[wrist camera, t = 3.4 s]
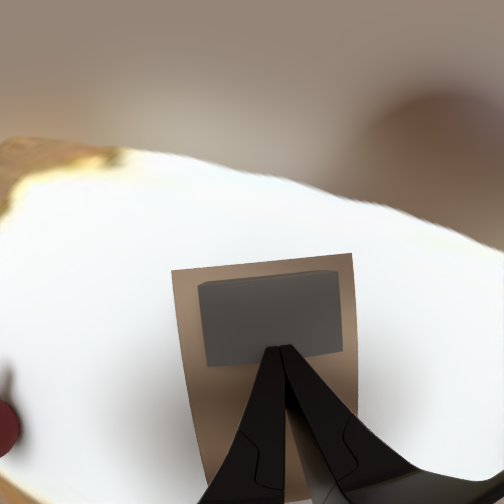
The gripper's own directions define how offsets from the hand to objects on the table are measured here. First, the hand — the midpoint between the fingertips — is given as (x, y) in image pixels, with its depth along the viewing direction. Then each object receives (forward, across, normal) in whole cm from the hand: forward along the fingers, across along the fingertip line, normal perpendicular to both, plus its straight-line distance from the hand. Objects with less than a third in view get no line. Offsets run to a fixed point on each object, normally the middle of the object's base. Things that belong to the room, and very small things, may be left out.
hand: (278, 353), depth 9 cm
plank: (+2, 0, +6) cm, 6 cm away
